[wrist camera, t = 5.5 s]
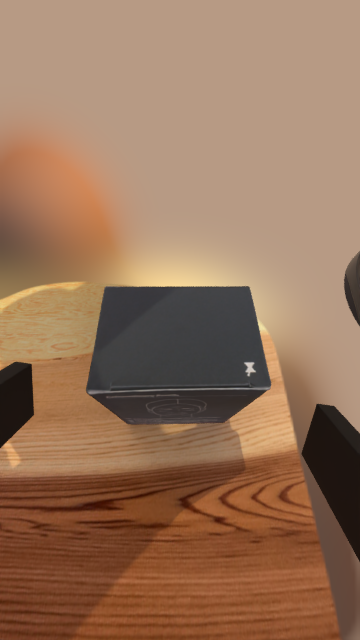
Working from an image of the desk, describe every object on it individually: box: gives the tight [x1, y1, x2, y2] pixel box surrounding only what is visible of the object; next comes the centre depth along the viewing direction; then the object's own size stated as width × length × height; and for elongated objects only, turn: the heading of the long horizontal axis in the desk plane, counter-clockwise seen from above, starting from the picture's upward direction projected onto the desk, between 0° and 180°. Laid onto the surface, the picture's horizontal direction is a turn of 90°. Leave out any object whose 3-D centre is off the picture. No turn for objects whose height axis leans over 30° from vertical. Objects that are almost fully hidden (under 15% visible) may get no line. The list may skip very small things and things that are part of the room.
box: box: [86, 286, 271, 424], centre depth 16 cm, size 8×6×11 cm
